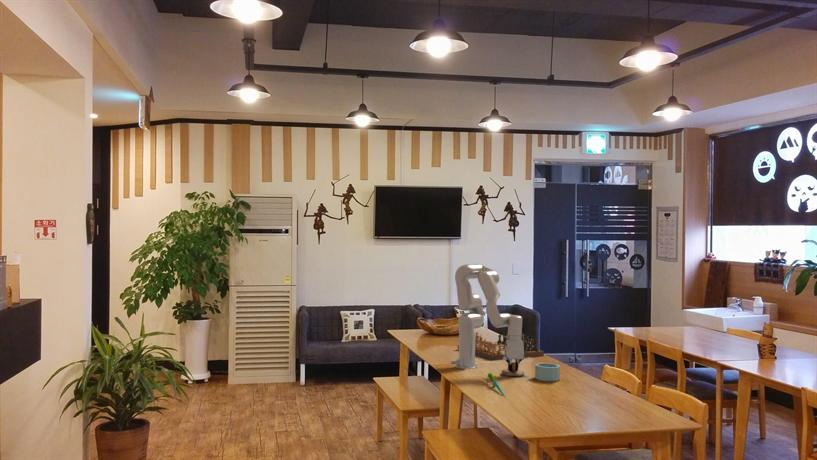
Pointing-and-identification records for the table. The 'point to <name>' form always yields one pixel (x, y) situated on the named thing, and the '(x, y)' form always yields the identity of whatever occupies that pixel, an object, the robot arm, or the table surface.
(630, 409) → the table surface
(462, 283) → the robot arm
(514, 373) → the lid
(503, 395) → the toy sword
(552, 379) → the bowl
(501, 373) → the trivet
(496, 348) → the chess set
